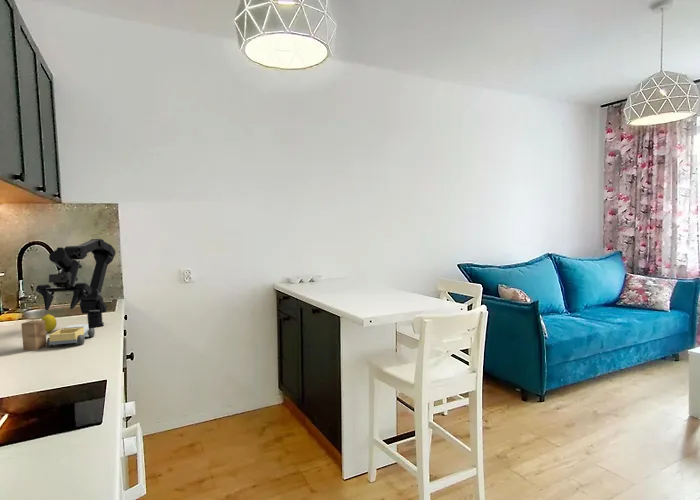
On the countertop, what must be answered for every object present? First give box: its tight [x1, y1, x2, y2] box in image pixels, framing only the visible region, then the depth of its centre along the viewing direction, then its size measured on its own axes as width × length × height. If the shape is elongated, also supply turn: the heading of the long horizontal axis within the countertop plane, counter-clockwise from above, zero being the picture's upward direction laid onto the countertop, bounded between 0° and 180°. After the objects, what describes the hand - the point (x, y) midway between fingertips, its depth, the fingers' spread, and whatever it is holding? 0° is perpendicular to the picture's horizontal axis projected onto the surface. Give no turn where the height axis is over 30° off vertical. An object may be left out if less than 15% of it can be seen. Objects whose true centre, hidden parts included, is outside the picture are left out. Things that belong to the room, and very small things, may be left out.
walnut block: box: [21, 319, 48, 351], centre depth 159 cm, size 5×5×10 cm
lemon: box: [41, 313, 57, 334], centre depth 182 cm, size 6×6×8 cm
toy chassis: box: [46, 323, 96, 348], centre depth 166 cm, size 16×11×5 cm
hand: (58, 309), depth 166 cm, fingers open, 9 cm apart
